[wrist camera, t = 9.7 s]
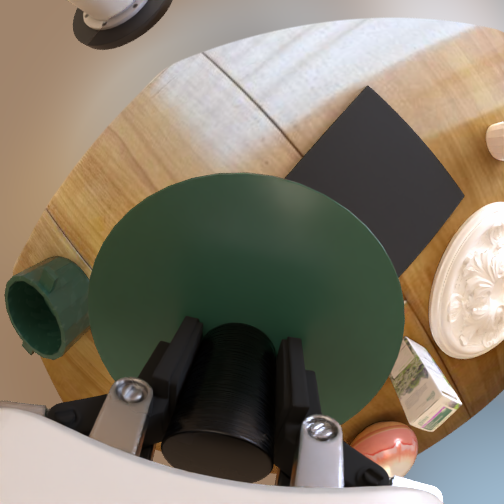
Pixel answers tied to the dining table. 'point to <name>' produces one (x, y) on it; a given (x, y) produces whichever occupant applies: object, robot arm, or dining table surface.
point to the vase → (388, 446)
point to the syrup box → (422, 387)
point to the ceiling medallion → (471, 287)
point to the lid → (246, 308)
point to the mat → (382, 177)
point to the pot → (49, 306)
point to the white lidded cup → (496, 140)
